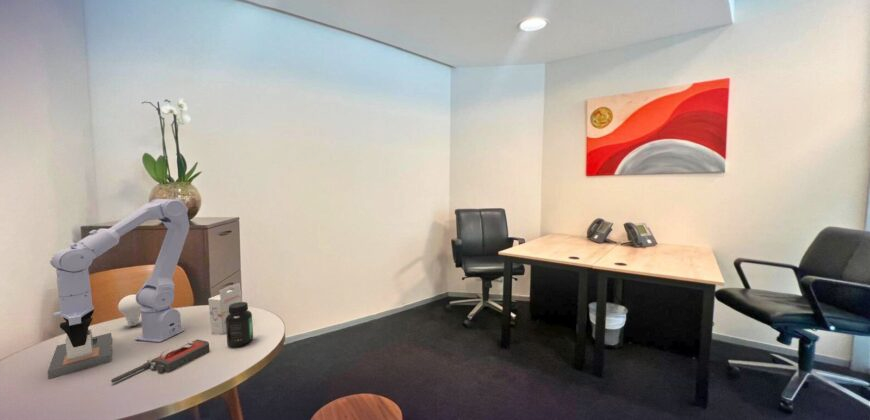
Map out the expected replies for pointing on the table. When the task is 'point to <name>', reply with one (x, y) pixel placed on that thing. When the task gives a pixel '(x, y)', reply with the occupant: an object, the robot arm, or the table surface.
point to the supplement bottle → (239, 325)
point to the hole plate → (100, 356)
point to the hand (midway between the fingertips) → (80, 342)
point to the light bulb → (130, 309)
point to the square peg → (79, 348)
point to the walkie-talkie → (172, 358)
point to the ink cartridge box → (223, 307)
